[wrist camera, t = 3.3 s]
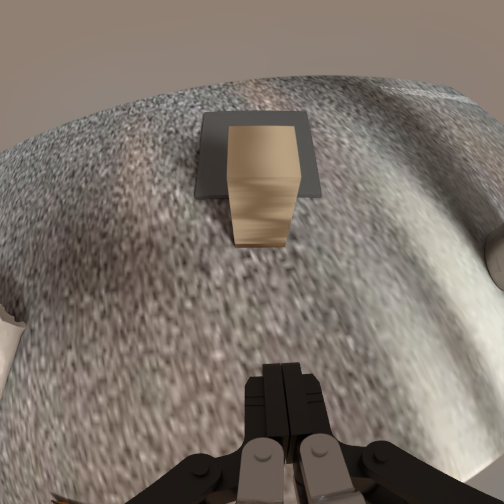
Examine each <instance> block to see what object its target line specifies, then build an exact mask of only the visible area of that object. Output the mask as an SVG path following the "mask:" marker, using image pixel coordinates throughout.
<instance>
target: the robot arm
mask: <svg viewBox="0 0 504 504" xmlns="http://www.w3.org/2000/svg"><path fill="white" fill-rule="evenodd" d="M485 258H486V263H487V267H488V270H489V272H490V275H491V277H492V278H493V280H494V282H495V283H496V284H497V286H498V287H499V288H500V289H501V290H503V291H504V223H503V224H502V225H501V226H499V227H498V228H497V229H496V230H494V231H493V232H492V233H491V234H489V236H488V237H487V240H486V243H485ZM285 459H286V464H292V463H293V469H294V475H293V484H294V489H295V493H296V498H297V503H298V504H504V502H503V501H501V500H499V499H496V498H494V497H492V496H490V495H487V494H485V493H483V492H481V491H479V490H477V489H475V488H473V487H470V486H469V485H466V484H464V483H462V482H460V481H458V480H457V479H455V478H453V477H451V476H449V475H447V474H445V473H443V472H441V471H439V470H437V469H436V468H434V467H432V466H430V465H428V464H426V463H425V462H423V461H421V460H419V459H418V458H416V457H414V456H412V455H411V454H409V453H407V452H405V451H404V450H402V449H400V448H399V447H397V446H395V445H394V444H392V443H390V442H388V441H381V440H380V441H374V442H372V443H370V444H369V445H367V446H366V447H360V446H351V445H346V444H343V443H341V442H340V441H338V440H337V439H336V438H335V437H334V436H333V434H332V432H331V428H330V424H329V419H328V415H327V411H326V407H325V403H324V399H323V395H322V390H321V386H320V382H319V381H318V380H317V379H316V378H315V376H314V375H313V374H302V372H301V367H300V363H299V362H296V363H281V365H280V363H278V364H263V365H262V376H261V377H250V378H249V379H248V381H247V383H246V385H245V437H244V442H243V444H242V446H241V447H240V448H239V449H238V450H237V451H235V452H233V453H231V454H229V455H225V456H221V457H217V458H214V457H212V456H210V455H208V454H202V453H198V454H193V455H190V456H188V457H186V458H185V459H184V460H182V461H181V462H180V463H179V464H177V465H176V466H175V467H174V468H172V469H171V470H170V471H169V472H167V473H166V474H165V475H163V476H162V477H161V478H160V479H158V480H157V481H156V482H154V483H153V484H152V485H150V486H149V487H148V488H146V489H145V490H143V491H142V492H141V493H139V494H138V495H136V496H135V497H134V498H132V499H131V500H129V501H128V502H126V503H125V504H226V503H230V502H234V501H236V503H235V504H284V502H283V483H284V464H285Z"/></svg>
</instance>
